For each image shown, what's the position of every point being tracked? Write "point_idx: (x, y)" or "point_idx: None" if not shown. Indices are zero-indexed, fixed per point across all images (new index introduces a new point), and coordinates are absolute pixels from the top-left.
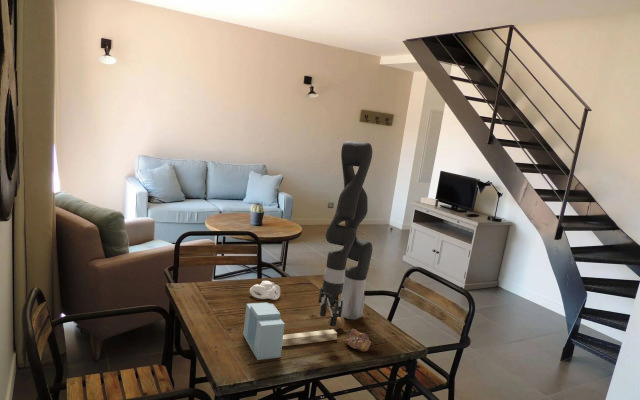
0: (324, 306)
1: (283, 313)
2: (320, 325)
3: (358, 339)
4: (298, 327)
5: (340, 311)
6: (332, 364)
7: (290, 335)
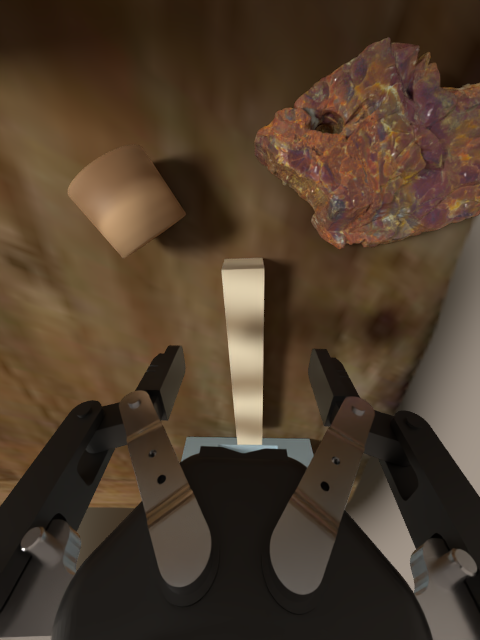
0: (158, 407)
1: (40, 366)
2: (122, 271)
3: (435, 206)
4: (149, 357)
5: (454, 480)
6: (413, 350)
7: (244, 425)
